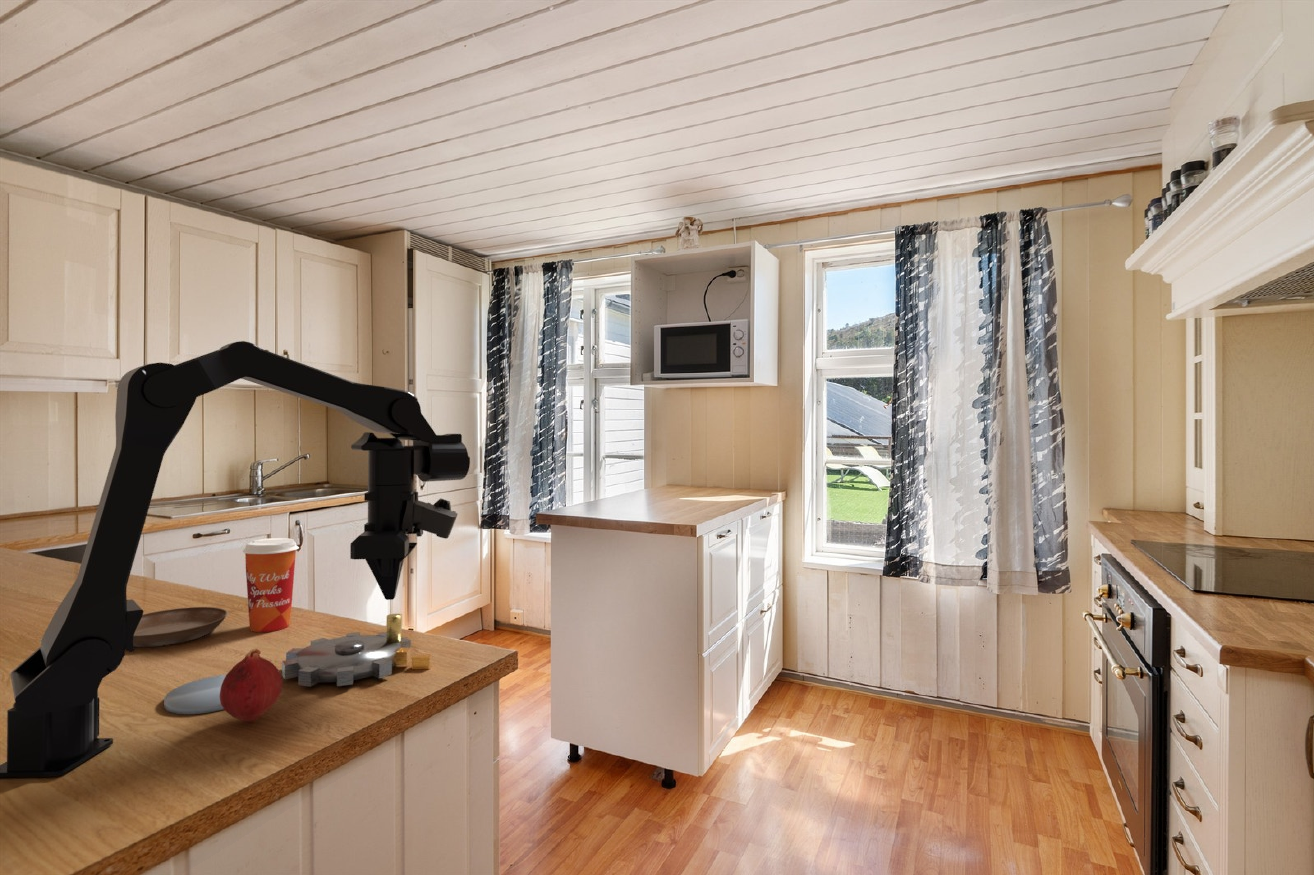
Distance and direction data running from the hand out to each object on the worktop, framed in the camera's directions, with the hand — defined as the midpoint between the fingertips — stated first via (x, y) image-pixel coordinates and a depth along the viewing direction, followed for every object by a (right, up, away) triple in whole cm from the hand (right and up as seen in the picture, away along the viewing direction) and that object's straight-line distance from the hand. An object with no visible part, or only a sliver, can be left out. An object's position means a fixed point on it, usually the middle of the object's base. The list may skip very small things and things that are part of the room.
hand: (390, 599), depth 86 cm
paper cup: (-27, -9, +18) cm, 34 cm away
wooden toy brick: (-2, -10, +1) cm, 10 cm away
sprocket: (-6, -10, +1) cm, 11 cm away
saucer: (-40, -9, +13) cm, 43 cm away
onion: (-9, -10, -15) cm, 20 cm away
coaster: (-17, -10, -9) cm, 22 cm away
